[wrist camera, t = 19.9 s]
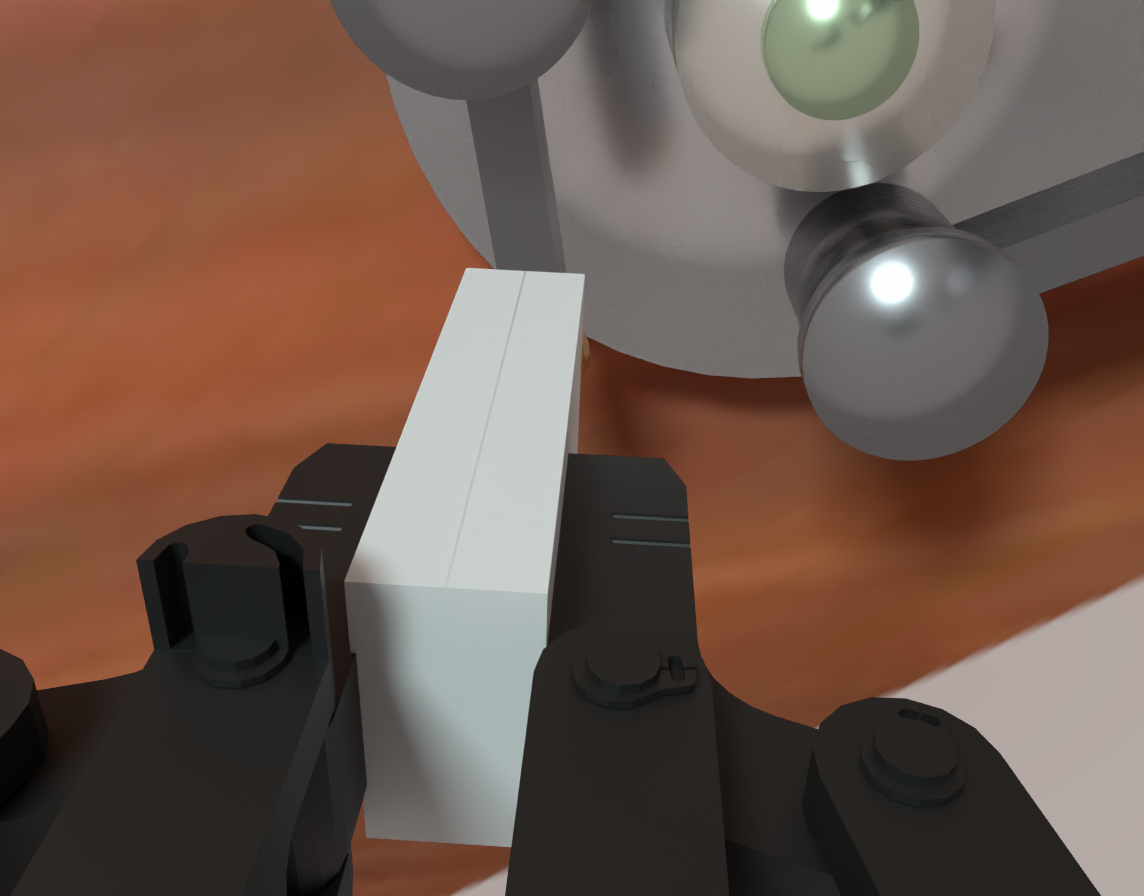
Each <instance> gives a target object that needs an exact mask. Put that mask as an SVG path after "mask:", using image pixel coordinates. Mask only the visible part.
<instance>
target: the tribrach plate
mask: <svg viewBox="0 0 1144 896" xmlns="http://www.w3.org/2000/svg"><path fill="white" fill-rule="evenodd" d="M386 76H387V79H388V83H389V87H390V91H391V95H392V98H393V102H394V106H395V108H396V111H397V114H398V116H399V119H400V121H401V124H402V126H403V129H404V131H405V134H406V136H407V139H408V141H409V144H410V146H411V149H412V151H413V154H414V156H415V158H416V160H417V161H418V163H419V165H420V167H421V169H422V171H423V172H424V174H425V176H426V178H427V180H428V181H429V183H430V185H431V187H432V189H433V191H434V192H435V194H436V196H437V198H438V200H439V201H440V203H441V204H442V205H443V207H444V208H445V210H446V211H447V212H448V214H449V215H450V216H451V218H452V219H453V221H454V222H455V223H456V225H457V226H458V227H459V229H460V230H461V232H462V233H463V234H464V236H465V237H466V239H467V240H468V241H469V242H470V243H471V244H472V246H473V247H474V248H475V249H476V250H477V251H478V252H479V253H480V254H481V255H482V256H483V257H484V258H485V259H486V261H487V262H488V263H489V264H490V265H491V266H492V267H493V268H494V269H496V263H495V257H494V252H493V246H492V241H491V235H490V230H489V224H488V219H487V213H486V208H485V202H484V196H483V191H482V185H481V180H480V174H479V169H478V163H477V158H476V152H475V147H474V141H473V135H472V130H471V124H470V119H469V113H468V108H467V102H466V100H454V99H446V98H441V97H436V96H432V95H429V94H426V93H423V92H420V91H417V90H414V89H412V88H410V87H408V86H406V85H404V84H402V83H400V82H398V81H397V80H395V79H394V78H392V77H391V76H389V75H388V74H386ZM538 84H539V91H540V98H541V104H542V111H543V118H544V125H545V131H546V138H547V145H548V152H549V158H550V165H551V172H552V179H553V185H554V192H555V199H556V205H557V212H558V219H559V226H560V232H561V239H562V246H563V253H564V259H565V266H566V273H574V274H585V286H584V309H583V331H584V333H585V334H586V336H587V337H589V338H591V339H593V340H595V341H597V342H599V343H602V344H604V345H606V346H608V347H610V348H612V349H614V350H616V351H618V352H621V353H624V354H627V355H630V356H633V357H636V358H639V359H642V360H645V361H648V362H652V363H655V364H658V365H661V366H665V367H670V368H675V369H680V370H685V371H690V372H695V373H700V374H705V375H714V376H727V377H740V378H776V377H799V376H801V373H800V369H799V364H798V356H797V343H798V334H799V328H800V325H799V322H798V320H797V317H796V315H795V312H794V310H793V308H792V305H791V303H790V300H789V298H788V295H787V291H786V288H785V282H784V262H785V255H786V252H787V248H788V245H789V243H790V240H791V238H792V236H793V234H794V232H795V230H796V229H797V227H798V225H799V224H800V223H801V221H802V220H803V219H804V218H805V216H806V215H807V214H808V213H809V212H810V211H811V210H812V209H813V208H814V207H815V206H817V205H818V204H819V203H820V202H822V201H823V200H825V199H826V198H828V197H829V196H831V195H833V194H835V193H837V192H839V191H841V190H845V189H851V188H856V187H859V186H862V185H866V184H869V183H877V182H878V183H891V184H896V185H901V186H904V187H907V188H909V189H912V190H914V191H916V192H918V193H920V194H921V195H922V196H924V197H925V198H927V199H928V200H929V201H930V202H931V203H932V204H933V205H934V206H935V207H936V208H937V209H938V210H939V211H940V212H941V213H942V214H943V215H944V216H945V217H946V219H947V220H948V221H949V222H950V223H951V224H952V225H953V224H956V223H959V222H961V221H964V220H966V219H969V218H972V217H974V216H977V215H979V214H982V213H985V212H987V211H990V210H992V209H995V208H998V207H1000V206H1003V205H1005V204H1008V203H1011V202H1013V201H1016V200H1018V199H1021V198H1024V197H1026V196H1029V195H1031V194H1034V193H1037V192H1039V191H1042V190H1044V189H1047V188H1050V187H1052V186H1055V185H1057V184H1060V183H1063V182H1065V181H1068V180H1070V179H1073V178H1076V177H1078V176H1081V175H1083V174H1086V173H1089V172H1091V171H1094V170H1096V169H1099V168H1102V167H1104V166H1107V165H1109V164H1112V163H1115V162H1117V161H1120V160H1122V159H1125V158H1128V157H1130V156H1133V155H1135V154H1138V153H1141V152H1143V151H1144V0H594V1H593V4H592V7H591V10H590V13H589V15H588V17H587V19H586V22H585V24H584V26H583V28H582V30H581V32H580V33H579V35H578V36H577V38H576V40H575V41H574V43H573V44H572V46H571V47H570V48H569V49H568V51H567V52H566V53H565V54H564V56H563V57H562V58H561V59H560V60H559V61H558V62H557V63H556V64H555V65H554V66H553V67H552V68H551V69H549V70H548V71H547V72H546V73H544V74H543V75H542V76H540V77H539V78H538ZM496 270H497V269H496Z"/></svg>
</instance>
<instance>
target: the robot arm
mask: <svg viewBox="0 0 1144 896" xmlns="http://www.w3.org/2000/svg"><path fill="white" fill-rule="evenodd" d="M584 286H585V274H574V273H555V272H535V271H515V270H496V269H476V268H466V270H465V273H464V275H463V278H462V280H461V283H460V285H459V288H458V291H457V293H456V296H455V298H454V301H453V303H452V306H451V309H450V311H449V314H448V316H447V319H446V321H445V324H444V327H443V329H442V332H441V334H440V337H439V339H438V342H437V345H436V347H435V350H434V352H433V355H432V357H431V360H430V362H429V365H428V368H427V370H426V373H425V375H424V378H423V380H422V383H421V386H420V388H419V391H418V393H417V396H416V398H415V401H414V404H413V406H412V409H411V411H410V414H409V416H408V419H407V422H406V424H405V427H404V429H403V432H402V434H401V437H400V439H399V442H398V445H397V447H385V446H367V445H349V444H331V443H327V444H326V445H324V446H323V447H322V448H320V449H319V450H317V451H316V452H315V453H313V454H312V455H311V456H309V457H308V458H306V459H305V460H304V461H302V462H301V463H300V464H298V465H297V466H295V467H294V469H293V471H292V472H291V474H290V476H289V478H288V480H287V482H286V484H285V485H284V487H283V489H282V491H281V493H280V495H279V497H278V503H275V504H274V506H273V508H272V510H271V511H270V513H269V515H268V516H263V515H257V514H251V515H232V516H219V517H215V518H211V519H208V520H204V521H200V522H196V523H192V524H188V525H185V526H183V527H181V528H179V529H178V530H176V531H174V532H172V533H170V534H168V535H166V536H164V537H162V538H160V539H158V540H156V541H155V542H154V543H153V544H152V545H151V546H150V547H149V548H148V549H147V550H146V551H145V552H144V553H143V554H142V555H141V556H140V557H139V558H138V559H137V560H136V561H137V566H138V571H139V576H140V581H141V586H142V591H143V596H144V601H145V605H146V610H147V615H148V620H149V625H150V630H151V635H152V640H153V645H154V651H153V653H152V654H151V656H150V658H149V660H148V661H147V663H146V665H145V666H144V668H143V669H142V670H140V671H137V672H135V673H130V674H126V675H122V676H118V677H114V678H109V679H105V680H99V681H92V682H86V683H80V684H74V685H68V686H62V687H56V688H50V689H43V690H36V686H35V683H34V679H33V677H32V675H31V674H30V672H29V670H28V668H27V667H26V665H25V663H24V662H23V660H22V659H20V658H18V657H16V656H14V655H12V654H10V653H8V652H6V651H3V650H1V649H0V896H352V889H353V863H352V853H351V840H352V837H353V833H354V830H355V826H356V822H357V819H358V815H359V812H360V808H361V805H362V801H363V803H364V815H365V826H366V838H382V839H397V840H412V841H427V842H442V843H457V844H472V845H488V846H503V847H511V854H510V861H509V869H508V877H507V886H506V893H505V896H1101V895H1100V894H1099V892H1098V891H1097V889H1096V888H1095V887H1094V885H1093V884H1092V882H1091V881H1090V880H1089V878H1088V877H1087V875H1086V874H1085V873H1084V871H1083V870H1082V868H1081V867H1080V866H1079V864H1078V863H1077V861H1076V860H1075V859H1074V857H1073V856H1072V854H1071V853H1070V851H1069V850H1068V849H1067V847H1066V846H1065V844H1064V843H1063V842H1062V840H1061V839H1060V837H1059V836H1058V834H1057V833H1056V832H1055V830H1054V829H1053V827H1052V826H1051V825H1050V823H1049V822H1048V820H1047V819H1046V818H1045V816H1044V815H1043V813H1042V812H1041V811H1040V809H1039V808H1038V806H1037V805H1036V803H1035V802H1034V801H1033V799H1032V798H1031V796H1030V795H1029V794H1028V792H1027V791H1026V789H1025V788H1024V786H1023V785H1022V784H1021V782H1020V781H1019V780H1018V778H1017V777H1016V775H1015V774H1014V772H1013V771H1012V770H1011V768H1010V767H1009V765H1008V764H1007V762H1006V761H1005V760H1004V758H1003V757H1002V755H1001V754H1000V753H999V752H998V751H997V750H996V749H995V748H994V747H993V746H992V745H991V744H990V743H989V742H988V741H987V740H986V739H985V738H984V737H983V736H982V735H981V734H980V733H979V732H978V731H977V730H976V729H975V728H974V727H972V726H971V725H969V724H967V723H965V722H964V721H962V720H960V719H958V718H957V717H955V716H953V715H951V714H950V713H948V712H946V711H944V710H943V709H940V708H936V707H933V706H930V705H926V704H923V703H919V702H915V701H912V700H909V699H903V698H901V699H900V698H874V697H870V698H867V699H863V700H860V701H856V702H853V703H849V704H846V705H842V706H840V707H839V708H838V709H837V710H835V711H834V712H833V713H832V714H831V715H829V716H828V717H827V718H826V719H825V720H824V721H822V722H821V723H820V726H819V729H815V728H812V727H809V726H805V725H802V724H799V723H796V722H792V721H789V720H786V719H783V718H779V717H776V716H774V715H771V714H769V713H766V712H764V711H761V710H759V709H756V708H754V707H751V706H750V705H748V704H746V703H745V702H743V701H742V700H740V699H738V698H737V697H735V696H734V695H732V694H730V693H729V692H728V691H727V690H726V689H725V688H724V687H723V686H722V685H721V684H720V683H718V682H717V681H716V680H715V679H714V678H713V677H712V675H711V673H710V672H709V670H708V669H707V667H706V666H705V663H704V661H703V659H702V658H701V654H700V650H699V646H698V640H697V626H696V613H695V599H694V586H693V573H692V559H691V548H690V533H689V523H688V506H687V492H686V485H685V484H684V483H683V482H682V480H681V479H680V478H679V477H678V475H677V474H676V473H675V472H674V470H673V469H672V468H671V467H670V465H669V464H668V463H667V462H666V460H665V459H662V458H644V457H626V456H608V455H590V454H577V451H578V428H579V404H580V380H581V357H582V333H583V309H584Z"/></svg>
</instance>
